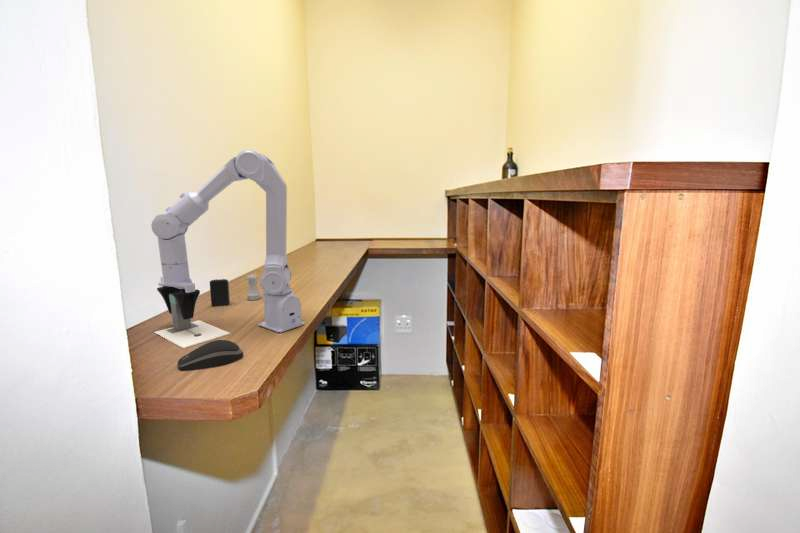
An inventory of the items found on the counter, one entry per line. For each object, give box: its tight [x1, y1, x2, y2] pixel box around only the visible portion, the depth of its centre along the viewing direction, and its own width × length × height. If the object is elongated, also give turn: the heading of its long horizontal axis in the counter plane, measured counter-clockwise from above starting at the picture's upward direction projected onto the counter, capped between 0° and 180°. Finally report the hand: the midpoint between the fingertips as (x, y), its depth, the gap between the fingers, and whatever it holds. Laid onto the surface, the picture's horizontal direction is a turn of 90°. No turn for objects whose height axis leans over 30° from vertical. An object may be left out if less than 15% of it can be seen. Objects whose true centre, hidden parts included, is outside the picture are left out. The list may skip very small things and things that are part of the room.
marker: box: [169, 294, 192, 331], centre depth 96 cm, size 3×3×9 cm
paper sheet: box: [153, 319, 231, 350], centre depth 94 cm, size 16×11×1 cm
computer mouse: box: [177, 339, 244, 372], centre depth 79 cm, size 7×12×4 cm, turn 120°
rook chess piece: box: [246, 273, 262, 301], centre depth 124 cm, size 4×4×8 cm
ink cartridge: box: [209, 278, 231, 307], centre depth 117 cm, size 5×2×8 cm, turn 106°
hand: (181, 315), depth 96 cm, fingers open, 7 cm apart
